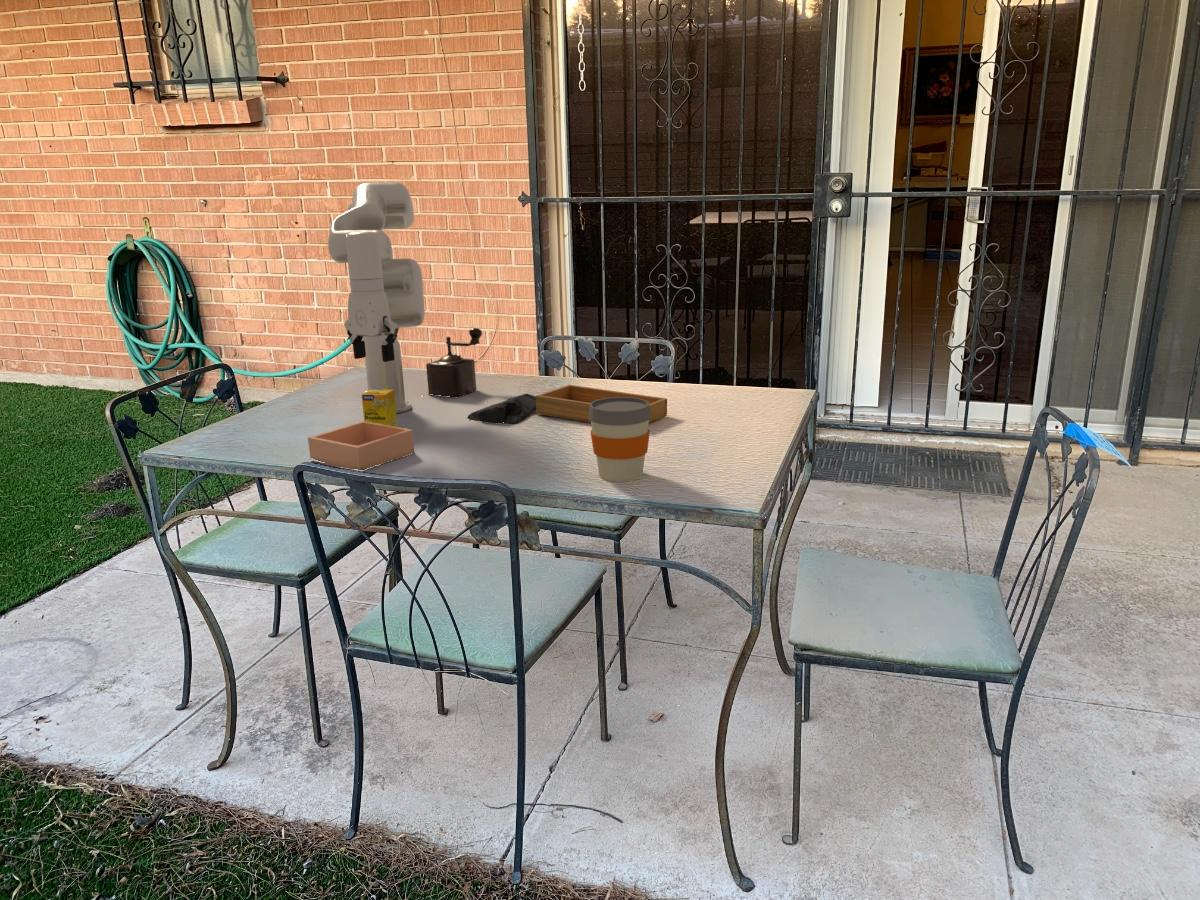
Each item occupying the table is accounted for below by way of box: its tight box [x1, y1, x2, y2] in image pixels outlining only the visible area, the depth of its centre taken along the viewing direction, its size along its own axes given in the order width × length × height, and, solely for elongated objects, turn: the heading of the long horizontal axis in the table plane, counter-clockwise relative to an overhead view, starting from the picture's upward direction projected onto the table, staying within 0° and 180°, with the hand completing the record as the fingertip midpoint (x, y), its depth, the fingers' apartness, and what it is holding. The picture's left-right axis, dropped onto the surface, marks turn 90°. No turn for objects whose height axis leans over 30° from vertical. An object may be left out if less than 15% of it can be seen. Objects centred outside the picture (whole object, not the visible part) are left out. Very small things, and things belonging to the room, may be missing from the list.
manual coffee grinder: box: [425, 327, 483, 398], centre depth 255 cm, size 16×11×18 cm
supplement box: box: [361, 389, 398, 427], centre depth 212 cm, size 6×6×11 cm
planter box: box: [307, 420, 415, 470], centre depth 195 cm, size 16×16×6 cm
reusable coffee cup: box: [589, 397, 651, 483], centre depth 178 cm, size 13×13×15 cm
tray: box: [535, 384, 668, 425], centre depth 225 cm, size 31×15×6 cm, turn 56°
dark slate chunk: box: [466, 393, 536, 425], centre depth 231 cm, size 15×22×5 cm
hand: (374, 359), depth 207 cm, fingers open, 9 cm apart
